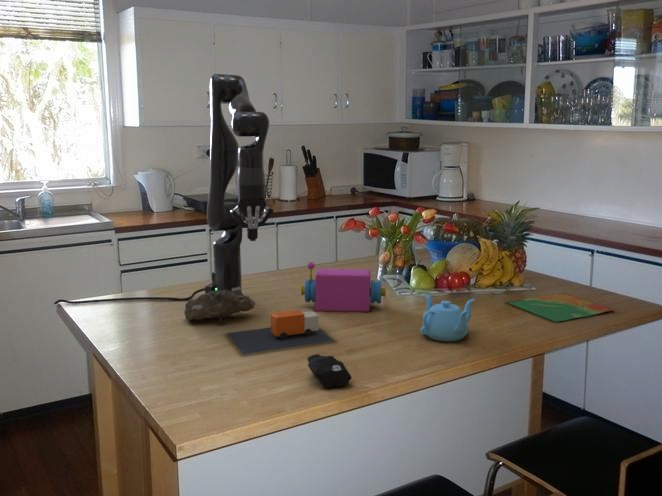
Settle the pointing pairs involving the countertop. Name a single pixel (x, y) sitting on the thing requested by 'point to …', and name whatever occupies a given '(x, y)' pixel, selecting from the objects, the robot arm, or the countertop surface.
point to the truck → (293, 323)
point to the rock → (328, 370)
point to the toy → (342, 289)
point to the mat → (274, 340)
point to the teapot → (445, 320)
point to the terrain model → (560, 307)
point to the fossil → (217, 304)
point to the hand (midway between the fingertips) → (252, 240)
